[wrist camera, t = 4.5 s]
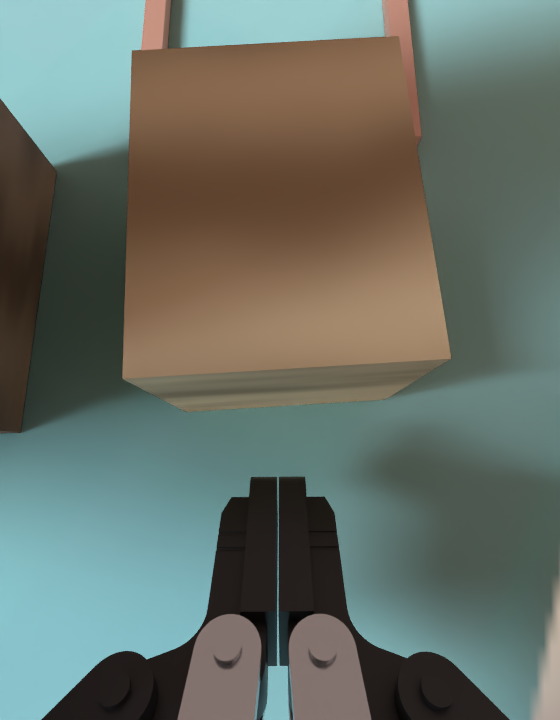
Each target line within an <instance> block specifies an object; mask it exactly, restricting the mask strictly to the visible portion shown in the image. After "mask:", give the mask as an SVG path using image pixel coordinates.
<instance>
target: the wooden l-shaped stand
mask: <svg viewBox="0 0 560 720" xmlns="http://www.w3.org/2000/svg"><path fill="white" fill-rule="evenodd" d="M56 174H57V171H56V170H55V168H54V167H53V166H52V165H51V163H50V162H49V161H48V159H47V158H46V157H45V156H44V154H43V153H42V152H41V150H40V149H39V148H38V147H37V145H36V144H35V143H34V141H33V140H32V139H31V138H30V136H29V135H28V134H27V132H26V131H25V130H24V129H23V127H22V126H21V125H20V123H19V122H18V121H17V120H16V118H15V117H14V116H13V114H12V113H11V112H10V111H9V109H8V108H7V107H6V105H5V104H4V103H3V102H2V100H1V99H0V433H20V432H21V425H22V417H23V410H24V403H25V396H26V389H27V382H28V374H29V367H30V360H31V353H32V346H33V339H34V331H35V324H36V317H37V310H38V303H39V296H40V288H41V281H42V274H43V267H44V260H45V253H46V245H47V238H48V231H49V224H50V217H51V210H52V202H53V195H54V188H55V181H56Z"/></svg>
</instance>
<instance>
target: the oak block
mask: <svg viewBox="0 0 560 720" xmlns="http://www.w3.org/2000/svg"><path fill="white" fill-rule="evenodd" d="M450 359H451V353H450V347H449V340H448V334H447V328H446V322H445V316H444V310H443V304H442V298H441V291H440V285H439V279H438V273H437V267H436V261H435V255H434V249H433V243H432V236H431V230H430V224H429V218H428V212H427V206H426V200H425V194H424V187H423V181H422V175H421V169H420V163H419V157H418V151H417V145H416V138H415V132H414V126H413V120H412V114H411V108H410V102H409V96H408V90H407V83H406V77H405V71H404V65H403V59H402V53H401V47H400V41H399V36H389V37H371V38H353V39H334V40H316V41H298V42H280V43H262V44H244V45H225V46H207V47H189V48H171V49H153V50H134V51H132V66H131V100H130V135H129V169H128V203H127V238H126V272H125V307H124V341H123V375H122V379H124V380H126V381H127V382H129V383H131V384H133V385H135V386H137V387H139V388H141V389H143V390H145V391H147V392H149V393H151V394H152V395H154V396H156V397H158V398H160V399H162V400H164V401H166V402H168V403H170V404H172V405H174V406H176V407H177V408H179V409H181V410H183V411H185V412H194V411H210V410H227V409H243V408H259V407H275V406H291V405H307V404H324V403H340V402H356V401H372V400H385V399H387V398H388V397H390V396H392V395H393V394H395V393H397V392H398V391H400V390H401V389H403V388H405V387H406V386H408V385H410V384H411V383H413V382H414V381H416V380H418V379H419V378H421V377H423V376H424V375H426V374H428V373H429V372H431V371H432V370H434V369H436V368H437V367H439V366H441V365H442V364H444V363H445V362H447V361H449V360H450Z"/></svg>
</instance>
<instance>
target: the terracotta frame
mask: <svg viewBox="0 0 560 720" xmlns="http://www.w3.org/2000/svg"><path fill="white" fill-rule="evenodd" d="M382 4H383V16H384V28H385V37H389V36H399V41H400V47H401V53H402V59H403V65H404V71H405V77H406V83H407V90H408V96H409V102H410V108H411V114H412V120H413V126H414V132H415V138H416V145H417V146H418V144H419V141H420V139H421V137H422V134H421V124H420V115H419V105H418V95H417V86H416V76H415V67H414V57H413V47H412V38H411V28H410V19H409V9H408V0H382ZM170 10H171V0H146V3H145V14H144V25H143V36H142V47H141V50H153V49H168V38H169V24H170Z"/></svg>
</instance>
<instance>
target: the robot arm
mask: <svg viewBox="0 0 560 720" xmlns="http://www.w3.org/2000/svg"><path fill="white" fill-rule="evenodd" d="M277 553H278V511H277V477H251V481H250V493H249V497H231V499H230V501H229V502H228V504H227V505H226V507H225V509H224V510H223V512H222V514H221V521H220V528H219V535H218V542H217V551H216V555H215V562H214V569H213V576H212V583H211V590H210V597H209V604H208V610H207V615H206V617H205V620H204V622H203V624H202V626H201V627H200V629H199V630H198V632H197V633H196V634H195V635H194V636H193V637H192V638H191V639H190V640H189V641H188V642H187V643H185V644H183V645H182V646H180V647H178V648H176V649H174V650H171V651H168V652H166V653H163V654H160V655H158V656H155V657H152V658H150V659H147V660H146V659H145V658H144V657H143V656H142V655H140V654H138V653H136V652H132V651H123V652H118V653H115V654H113V655H110V656H108V657H107V658H105V659H104V660H102V661H101V662H100V663H99V664H97V665H96V666H95V667H94V668H93V669H92V670H91V671H90V672H89V673H88V674H87V675H86V676H85V677H84V678H83V679H82V680H81V681H80V682H79V683H78V684H77V685H76V686H75V687H74V688H73V689H72V690H71V691H70V692H69V693H68V694H67V695H66V696H65V697H64V698H63V699H62V700H61V701H60V702H59V703H58V704H57V705H56V706H55V707H54V708H53V709H52V710H51V711H50V712H49V713H48V714H47V715H46V716H45V717H44V718H43V719H42V720H264V713H265V708H266V704H267V687H268V666H277ZM279 657H280V666H288V710H289V720H509V719H508V718H507V717H506V716H505V715H504V714H503V713H502V712H501V711H500V710H499V709H498V708H497V707H496V706H495V705H494V704H493V703H492V702H491V701H490V700H489V699H488V698H487V697H486V696H485V695H484V694H483V693H482V692H481V691H480V690H479V689H478V688H477V687H476V686H475V685H474V684H473V683H472V682H471V681H470V680H469V679H468V678H467V677H466V676H465V675H464V674H463V673H462V672H461V671H460V670H459V669H458V668H457V667H456V666H455V665H454V664H453V663H452V662H451V661H449V660H448V659H446V658H445V657H443V656H440V655H438V654H435V653H432V652H419V653H415V654H413V655H411V656H410V657H409V658H405V657H402V656H400V655H397V654H394V653H391V652H389V651H386V650H383V649H381V648H378V647H376V646H374V645H372V644H371V643H369V642H368V641H367V640H365V639H364V638H363V637H362V636H361V635H360V634H359V633H358V632H357V630H356V629H355V627H354V626H353V624H352V622H351V620H350V617H349V615H348V610H347V604H346V597H345V589H344V582H343V574H342V567H341V559H340V552H339V544H338V537H337V529H336V522H335V514H334V511H333V510H332V508H331V506H330V505H329V503H328V502H327V500H326V498H325V497H306V484H305V477H279Z"/></svg>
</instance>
